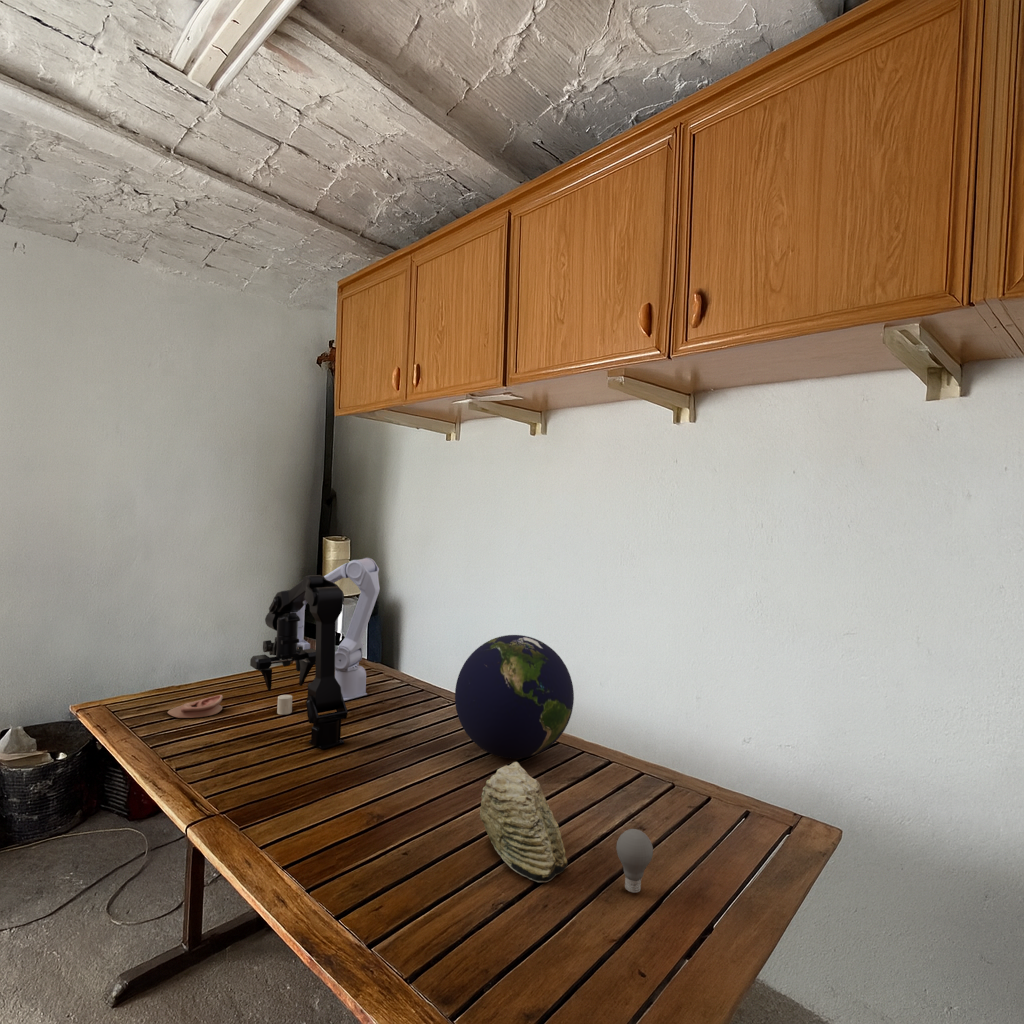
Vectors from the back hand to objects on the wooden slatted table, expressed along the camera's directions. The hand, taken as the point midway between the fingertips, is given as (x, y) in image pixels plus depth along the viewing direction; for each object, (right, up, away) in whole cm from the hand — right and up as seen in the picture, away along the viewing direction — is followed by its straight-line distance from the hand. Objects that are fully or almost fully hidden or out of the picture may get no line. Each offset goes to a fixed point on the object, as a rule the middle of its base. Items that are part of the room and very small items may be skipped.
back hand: (293, 668), depth 205 cm
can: (+5, -8, -21) cm, 23 cm away
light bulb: (+91, -13, -99) cm, 135 cm away
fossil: (+72, -12, -90) cm, 116 cm away
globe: (+71, -11, -45) cm, 84 cm away
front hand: (+5, -1, -21) cm, 22 cm away
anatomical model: (-20, -7, -24) cm, 32 cm away
